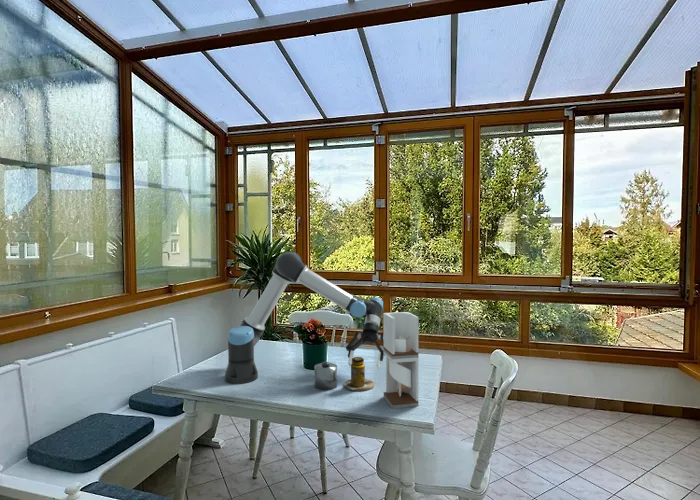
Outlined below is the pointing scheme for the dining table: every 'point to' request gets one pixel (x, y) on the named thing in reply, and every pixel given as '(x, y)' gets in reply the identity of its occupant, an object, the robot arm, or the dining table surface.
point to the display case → (401, 358)
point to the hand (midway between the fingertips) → (363, 365)
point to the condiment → (357, 374)
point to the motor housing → (325, 376)
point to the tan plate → (367, 382)
